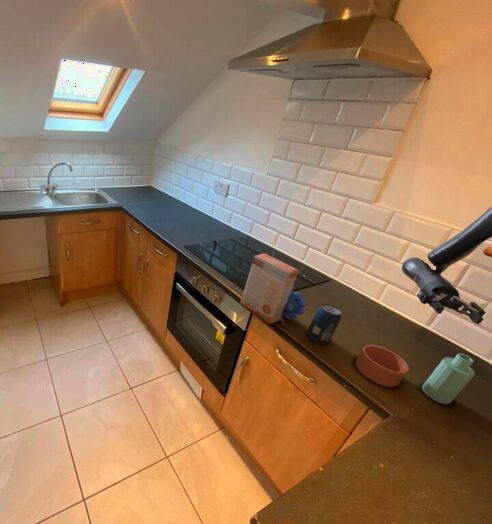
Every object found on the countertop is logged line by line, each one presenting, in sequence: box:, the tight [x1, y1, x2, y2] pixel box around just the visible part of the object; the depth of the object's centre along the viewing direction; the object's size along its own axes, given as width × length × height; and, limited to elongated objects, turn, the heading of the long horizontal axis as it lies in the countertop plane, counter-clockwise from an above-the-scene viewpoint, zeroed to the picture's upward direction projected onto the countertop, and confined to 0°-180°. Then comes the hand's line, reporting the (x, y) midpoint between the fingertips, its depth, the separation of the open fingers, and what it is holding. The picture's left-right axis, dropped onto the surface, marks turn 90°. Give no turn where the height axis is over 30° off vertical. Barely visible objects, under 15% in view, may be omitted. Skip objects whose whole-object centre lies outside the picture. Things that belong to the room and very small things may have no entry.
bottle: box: [421, 353, 476, 405], centre depth 81 cm, size 6×6×14 cm
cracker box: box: [239, 253, 300, 325], centre depth 106 cm, size 14×6×21 cm, turn 31°
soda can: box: [307, 303, 342, 345], centre depth 98 cm, size 7×7×12 cm
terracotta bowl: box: [355, 344, 410, 388], centre depth 88 cm, size 11×11×6 cm
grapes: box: [281, 289, 307, 320], centre depth 106 cm, size 12×7×12 cm, turn 75°
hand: (459, 316), depth 84 cm, fingers open, 8 cm apart
